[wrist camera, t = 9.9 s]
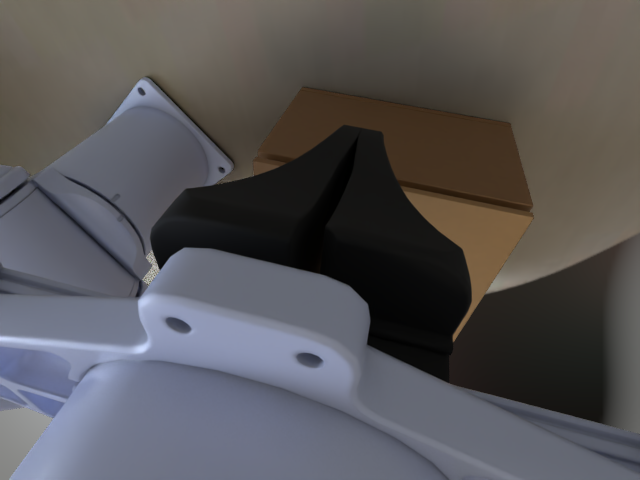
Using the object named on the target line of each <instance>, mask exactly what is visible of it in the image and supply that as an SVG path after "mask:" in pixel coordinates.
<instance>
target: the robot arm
mask: <svg viewBox="0 0 640 480" xmlns="http://www.w3.org/2000/svg"><path fill="white" fill-rule="evenodd" d="M141 88H142V89H144V91H145V93H144V92H143V91H142V89H141ZM221 167H222V168H224V170H222V169H221ZM233 168H234V164H233V162H232V161H231V160H230V159H229V158H228V157H227V156H226V155H225V154H224V153H223V152H222V151H221V150H220V149H219V148H218V147H217V146H216V145H215V144H214V143H213V142H212V141H211V140H210V139H209V138H208V137H207V136H206V135H205V134H204V133H203V132H202V131H201V130H200V129H199V128H198V127H197V126H196V125H195V124H194V123H193V122H192V121H191V120H190V119H189V118H188V117H187V116H186V115H185V114H184V113H183V112H182V111H181V110H180V109H179V108H178V107H177V106H176V105H175V104H174V103H173V102H172V101H171V100H170V98H169V97H168V96H167V95H166V94H165V93H164V92H163V91H162V90H161V89H160V88H159V87H158V86H157V85H156V84H155V83H154V82H153V81H152V80H150V79H149V78H147V77H143V78H142V79H140V80H139V81H138V82H137V84H136V85H135V86H134V88H133V89H132V90H131V92H130V93H129V94H128V96H127V97H126V98H125V100H124V101H123V102H122V104H121V105H120V106H119V108H118V109H117V110H116V112H115V113H114V114H113V116H112V117H111V118H110V120H109V121H108V122H107V124H106V125H105V126H104V127H102V128H101V129H99V130H98V131H97V132H95V133H94V134H92V135H91V136H90V137H88V138H87V139H85V140H84V141H82V142H81V143H80V144H78V145H77V146H75V147H74V148H73V149H71V150H70V151H68V152H67V153H66V154H64V155H63V156H61V157H60V158H58V159H57V160H56V161H54V162H53V163H51V164H50V165H49V166H47V167H46V168H44V169H43V170H42V171H40V172H38V173H37V174H35V175H33V176H31V177H29V176H30V174H29V173H28V172H27V171H26V170H25V169H24V168H22V167H21V166H16V167H12V166H5V165H0V411H4V410H11V409H17V408H24V407H26V408H29V409H31V410H34V411H36V412H38V413H41V414H44V415H46V416H49V417H51V418H54V419H53V420H52V421H51V423H50V424H49V426H48V427H47V428H46V430H45V431H44V432H43V434H42V435H41V436H40V438H39V439H38V441H37V442H36V443H35V445H34V446H33V447H32V449H31V450H30V451H29V453H28V454H27V456H26V457H25V458H24V460H23V461H22V462H21V464H20V465H19V467H18V468H17V469H16V471H15V472H14V473H13V475H12V476H11V477H10V479H9V480H640V434H638V433H634V432H631V431H627V430H623V429H619V428H615V427H611V426H607V425H604V424H600V423H596V422H592V421H588V420H585V419H581V418H577V417H573V416H569V415H565V414H562V413H558V412H554V411H550V410H547V409H543V408H539V407H535V406H531V405H527V404H523V403H520V402H516V401H512V400H508V399H505V398H501V397H497V396H493V395H489V394H485V393H482V392H478V391H474V390H470V389H466V388H462V387H458V386H455V385H451V384H449V355H451V353H452V351H453V334H454V333H455V331H456V330H457V328H458V327H459V325H460V323H461V322H462V320H463V319H464V317H465V316H466V314H467V312H468V310H469V308H470V305H471V302H472V287H471V280H470V275H469V270H468V266H467V263H466V259H465V255H464V252H463V249H462V248H461V247H459V246H458V245H457V244H455V243H454V242H453V241H451V240H450V239H449V238H447V237H446V236H445V235H443V234H442V233H441V232H439V231H438V230H437V229H436V228H435V227H434V226H433V225H432V224H430V223H429V222H428V221H427V220H426V219H425V218H424V217H423V216H422V215H421V214H420V213H419V211H418V210H417V209H416V208H415V207H414V205H413V204H412V203H411V202H410V200H409V199H408V198H407V196H406V195H405V193H404V191H403V190H402V188H401V186H400V184H399V183H398V181H397V179H396V176H395V174H394V172H393V170H392V167H391V165H390V162H389V159H388V156H387V153H386V149H385V145H384V135H383V133H382V132H381V131H376V130H371V129H365V128H360V127H354V126H349V125H343V126H341V127H340V128H338V129H337V130H336V131H335V132H333V133H332V134H331V135H330V136H328V137H327V138H326V139H325V140H323V141H322V142H320V143H319V144H318V145H316V146H315V147H314V148H312V149H311V150H309V151H307V152H306V153H304V154H303V155H301V156H299V157H298V158H296V159H294V160H292V161H290V162H288V163H286V164H284V165H282V166H280V167H277V168H275V169H273V170H270V171H267V172H264V173H261V174H258V175H255V176H252V177H249V178H245V179H241V180H237V181H233V182H228V183H223V184H218V185H214V184H216V183H217V182H218V181H220V180H221V179H222V178H223V177H225V176H226V175H227V174H229V173H230V172H231V171H232V170H233ZM28 177H29V178H28ZM151 250H153V253H154V256H155V258H156V261H157V264H158V267H159V269H160V272H159V273H158V274H157V276H156V277H155V278H154V280H153V281H152V282H151V284H150V285H149V286H148V285H147V284H146V283H145V282H144V281H143V280H142V279H143V278H144V276H145V275H146V274H147V272H148V271H149V270H150V269H151V267H152V265H151V263H150V262H149V261H148V260H147V259H146V256H147V255H148V254H149V253H150V251H151Z"/></svg>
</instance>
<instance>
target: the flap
mask: <svg viewBox="0 0 640 480" xmlns="http://www.w3.org/2000/svg"><path fill="white" fill-rule="evenodd" d="M401 188H402V190H403V191H404V193H405V195H406V196H407V198H408V199H409V200H410V202H411V203H412V204H413V205H414V207H415V208H416V209H417V210H418V211H419V213H420V214H421V215H422V216H423V217H424V218H425V219H426V220H427V221H428V222H429V223H430V224H432V225H433V226H434V227H435V228H436V229H437V230H438V231H439V232H441V233H442V234H443V235H445V236H446V237H447V238H449V239H450V240H451V241H453V242H454V243H455V244H457V245H458V246H459V247H461V248H462V249H463V252H464V255H465V259H466V263H467V266H468V270H469V275H470V280H471V287H472V302H471V305H470V308H469V310H468V312H467V314H466V316H465V317H464V319H463V320H462V322H461V323H460V325H459V327H458V328H457V330H456V331H455V333H454V334H453V342H454V340H455V339H456V337H457V336H458V334H459V333H460V331H461V329H462V328H463V327H464V325H465V323H466V322H467V320H468V319H469V317H470V316H471V314H472V313H473V311H474V310H475V308H476V307H477V305H478V303H479V302H480V300H481V299H482V297H483V296H484V294H485V293H486V291H487V290H488V288H489V287H490V285H491V283H492V282H493V280H494V279H495V277H496V276H497V274H498V273H499V271H500V270H501V268H502V267H503V265H504V263H505V262H506V260H507V259H508V257H509V256H510V254H511V253H512V251H513V250H514V248H515V247H516V245H517V243H518V242H519V240H520V239H521V237H522V236H523V234H524V233H525V231H526V230H527V228H528V226H529V225H530V223H531V222H532V220H533V219H534V215H533V213H532V212H527V211H522V210H517V209H512V208H507V207H502V206H497V205H492V204H487V203H482V202H477V201H473V200H468V199H463V198H458V197H453V196H448V195H443V194H438V193H433V192H428V191H423V190H419V189H414V188H409V187H404V186H401Z"/></svg>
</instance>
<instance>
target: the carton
mask: <svg viewBox="0 0 640 480" xmlns="http://www.w3.org/2000/svg"><path fill="white" fill-rule="evenodd" d="M343 125H349V126H354V127H360V128H365V129H371V130H376V131H381V132H382V133H383V135H384V145H385V149H386V153H387V156H388V159H389V162H390V165H391V167H392V170H393V172H394V174H395V176H396V179H397V181H398V183H399V184H400V186H404V187H409V188H414V189H419V190H423V191H428V192H433V193H438V194H443V195H448V196H453V197H458V198H463V199H468V200H473V201H477V202H482V203H487V204H492V205H497V206H502V207H507V208H512V209H517V210H522V211H527V212H530V210H531V209H532V207H533V203H532V199H531V196H530V192H529V189H528V185H527V181H526V178H525V174H524V171H523V167H522V163H521V160H520V156H519V153H518V149H517V145H516V142H515V138H514V135H513V131H512V128H511V124H510V123H505V122H499V121H493V120H488V119H482V118H476V117H470V116H465V115H459V114H453V113H448V112H442V111H436V110H431V109H425V108H419V107H414V106H408V105H402V104H396V103H391V102H385V101H379V100H374V99H368V98H362V97H357V96H351V95H345V94H340V93H334V92H328V91H323V90H317V89H311V88H305V87H302V88H301V90H300V91H299V92H298V94H297V95H296V97H295V98H294V99H293V101H292V102H291V104H290V105H289V107H288V108H287V109H286V111H285V112H284V114H283V115H282V117H281V118H280V119H279V121H278V122H277V124H276V125H275V126H274V128H273V129H272V131H271V132H270V134H269V135H268V136H267V138H266V139H265V141H264V142H263V144H262V145H261V146H260V148H259V149H258V157H255V158H254V160H253V170H254V176H255V175H258V174H261V173H264V172H267V171H270V170H273V169H275V168H277V167H280V166H282V165H284V164H286V163H288V162H290V161H292V160H294V159H296V158H298V157H299V156H301V155H303V154H304V153H306V152H307V151H309V150H311V149H312V148H314V147H315V146H316V145H318V144H319V143H320V142H322V141H323V140H325V139H326V138H327V137H328V136H330V135H331V134H332V133H333V132H335V131H336V130H337V129H338V128H340V127H341V126H343Z"/></svg>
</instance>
